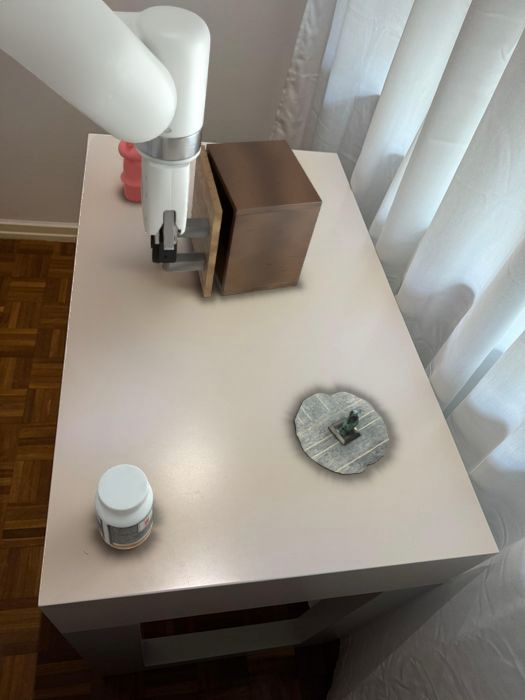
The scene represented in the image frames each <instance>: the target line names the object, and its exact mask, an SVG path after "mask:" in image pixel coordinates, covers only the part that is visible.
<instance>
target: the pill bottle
mask: <svg viewBox="0 0 525 700" xmlns="http://www.w3.org/2000/svg"><path fill="white" fill-rule="evenodd" d="M93 504H94V509H95V515H96V520H97V527H98V531H99V533H100V536H101V538H102V539H103V540H104V542H105V543H106V544H107V545H108V546H110V547H112V548H115V549H118V550H130V549H134V548H136V547H138V546H140V545H142V544H143V543H144V542H145V541H146V540H147V539H148V537H149V536H150V534H151V532H152V529H153V525H154V524H153V523H154V493H153V489H152V487H151V485H150V483H149V481H148V478H147V475H146V474H145V473H144V471H143V470H142V469H141V468H139V467H138V466H136V465H133V464H129V463H122V464H116V465H114V466H112V467H110V468H108V469H107V470H105V471H104V472H103V473H102V475H101V476H100V478H99V480H98V484H97V489H96V492H95V495H94V503H93Z"/></svg>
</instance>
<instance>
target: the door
mask: <svg viewBox="0 0 525 700" xmlns="http://www.w3.org/2000/svg"><path fill="white" fill-rule="evenodd" d="M191 201H192V203H191V212H190V217H187V219H186V227H185V232H184V233H183V234H182V235H180V233H178V230H177V239H185V238H186V239H189V238H190V240H191V245H192V248H193V252H177V258H176V262H175V263H161V265H160V266H161V269H162V270H163V271H164V272H167V273H168V272H169V273H170V272H191V271H192V272H193V271H197V273H198V276H199V282H200V284H201V285H200V286H201V290H202V295H203V298H211V296H212V289H213V283H214V282H213V281H214V276H215V275H214V268H215V261H216V254H217V247H218V240H219V232H220V225H221V218H222V208H221V204H220V201H219V197H218V193H217V190H216V186H215V182H214V179H213V175H212V171H211V168H210V164H209V160H208V157H207V153H206V146H205V144H201V151H200V154H199V155H198V156H197V157H196V158H195V167H194V179H193V191H192V200H191Z"/></svg>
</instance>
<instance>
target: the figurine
mask: <svg viewBox="0 0 525 700" xmlns="http://www.w3.org/2000/svg"><path fill="white" fill-rule="evenodd" d="M117 146H118V147H117V149H118V150H117V151H118V154H119V155H120V157H122V158H123V160H122V161H123V162H122V171H121V173H120V180H121V183H123V194H124V197H125V198H126V199H127V200H129V201H130V202H135V203H139V202H142V201H141V164H142V155H140V154H139V153H138V151H137V150H136V149H135V146H134V143H130V142H125V141H122V140H119V143H118V145H117Z"/></svg>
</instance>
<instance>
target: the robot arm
mask: <svg viewBox="0 0 525 700" xmlns="http://www.w3.org/2000/svg"><path fill="white" fill-rule="evenodd" d="M0 50H1V51H3V52H4V53H6V55H8V56H9V57H11V58H12V59H14V60H15V61H16V62H17V63H19V64H20V65H21V66H22V67H24V68H25V69H26V70H28V71H29V72H30V73H31V74H33V76H35V77H36V78H38V79H39V80H40V81H41V82H42V83H44V85H46V86H47V87H48V88H50V89H51V90H52V91H54V92H55V93H56V94H57V95H58V96H59V97H61V98H62V99H63V100H64V101H66V102H67V103H68V104H69V105H71V106H72V107H73V108H74V109H76V110H77V111H78V112H80V113H81V114H82V115H84V116H85V117H86V118H88V119H89V120H90V121H92V122H93V123H94V124H95V125H97V126H98V127H99V128H101V129H102V130H103V131H105V132H106V133H107V134H109V135H110V136H111V137H113V138H114V139H116V140H119V141H121V140H122V141H125V142H130V143H134V146H135V149H136V150H137V151H138V153H139V154H140V155H142V164H141V201H140V202H141V211H142V218H143V219H142V220H143V222H142V223H143V227H144V228H143V229H144V233H146V235H148V236H150V249H151V262H152V263H153V264H162V263H175V262H176V258H177V253H178V241H179V239H178V238H177V230H178V233H180V235H182V234H183V233H184V232H185V227H186V219H187V218H188V208H189V207H188V206H189V195H190V193H189V190H190V179H191V176H190V175H191V162H193V161H194V160H196V157H197V156H198V155H199V154H200V151H201V145H202V141H203V129H204V119H205V118H204V117H205V108H206V99H207V98H206V97H207V87H208V74H209V63H210V53H211V32H210V29H209V27H208V25H207V23H206V22H205V20H204V19H203V18H202V17H201V16H199V15H198V14H197V13H195V12H194V11H191V10H189V9H186V8H183V7H180V6H179V7H178V6H173V5H155V6H150V7H147V8H145V9H144V10H141V11H118V10H116V11H115V10H112V9H111V7H110V6H108V5H107V3H105V2H104V1H103V0H0Z"/></svg>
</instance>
